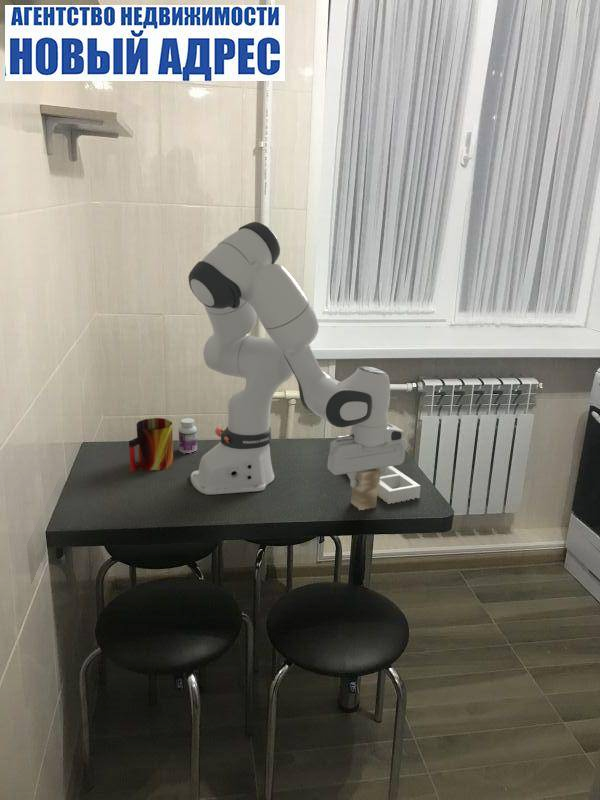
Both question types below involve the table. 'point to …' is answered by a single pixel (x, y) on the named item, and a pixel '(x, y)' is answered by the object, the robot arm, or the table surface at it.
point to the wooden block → (365, 489)
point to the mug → (152, 445)
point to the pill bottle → (187, 436)
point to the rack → (397, 479)
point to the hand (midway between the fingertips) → (364, 484)
